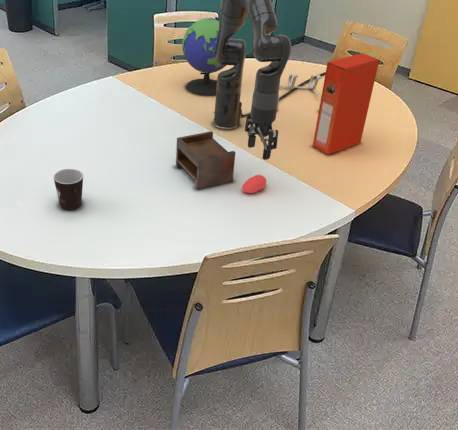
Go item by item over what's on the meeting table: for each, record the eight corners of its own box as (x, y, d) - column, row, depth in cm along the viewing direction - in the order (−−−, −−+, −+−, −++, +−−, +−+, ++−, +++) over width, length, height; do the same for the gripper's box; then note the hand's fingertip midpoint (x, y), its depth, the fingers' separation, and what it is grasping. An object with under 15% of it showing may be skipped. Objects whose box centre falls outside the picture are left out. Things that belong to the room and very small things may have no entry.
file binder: (311, 146, 214) (327, 61, 196) (343, 135, 223) (361, 52, 205) (328, 155, 209) (346, 69, 191) (360, 143, 218) (380, 59, 199)
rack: (209, 159, 203) (211, 131, 197) (232, 181, 192) (235, 152, 185) (175, 166, 198) (176, 137, 192) (197, 190, 187) (199, 159, 180)
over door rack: (313, 86, 262) (317, 65, 256) (325, 114, 238) (330, 92, 232) (265, 84, 262) (268, 63, 256) (272, 112, 238) (276, 89, 232)
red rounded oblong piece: (269, 196, 188) (273, 176, 187) (249, 193, 182) (252, 173, 182) (258, 194, 192) (261, 175, 191) (238, 191, 186) (241, 172, 186)
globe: (182, 76, 266) (186, 9, 249) (231, 80, 264) (238, 12, 247) (177, 96, 248) (180, 24, 231) (230, 100, 246) (237, 28, 229)
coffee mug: (57, 197, 180) (54, 168, 175) (85, 196, 181) (84, 168, 175) (54, 218, 171) (51, 189, 165) (83, 218, 172) (81, 189, 166)
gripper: (289, 111, 167) (281, 161, 176) (262, 93, 178) (256, 141, 187) (267, 115, 165) (260, 165, 174) (241, 96, 175) (236, 145, 184)
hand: (258, 152), depth 180 cm, fingers open, 8 cm apart
